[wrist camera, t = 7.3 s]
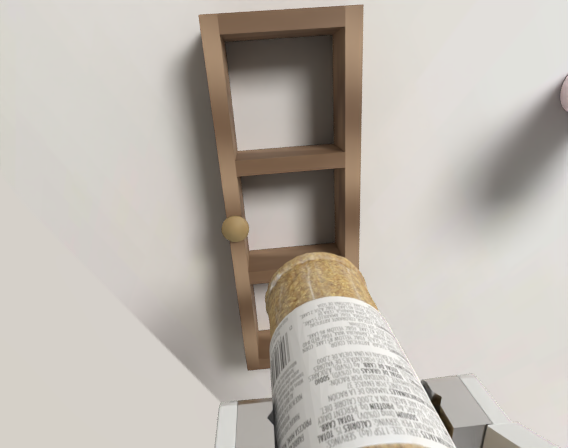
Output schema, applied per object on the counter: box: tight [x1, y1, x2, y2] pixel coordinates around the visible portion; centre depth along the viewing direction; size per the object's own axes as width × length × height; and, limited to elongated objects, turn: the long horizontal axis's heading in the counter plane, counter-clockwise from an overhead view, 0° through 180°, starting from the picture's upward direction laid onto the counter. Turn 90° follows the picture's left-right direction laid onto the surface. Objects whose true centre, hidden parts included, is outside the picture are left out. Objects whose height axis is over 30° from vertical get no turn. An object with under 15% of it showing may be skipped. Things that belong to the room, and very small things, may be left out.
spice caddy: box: [199, 5, 363, 370], centre depth 25 cm, size 25×9×4 cm, turn 4°
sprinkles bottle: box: [265, 252, 456, 448], centre depth 9 cm, size 5×5×14 cm
